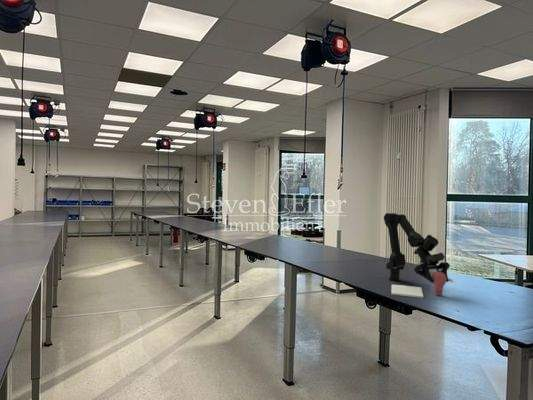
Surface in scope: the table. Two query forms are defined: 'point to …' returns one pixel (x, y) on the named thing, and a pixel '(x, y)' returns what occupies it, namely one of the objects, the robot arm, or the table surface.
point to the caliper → (434, 271)
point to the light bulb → (439, 282)
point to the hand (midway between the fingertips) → (440, 282)
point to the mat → (407, 291)
